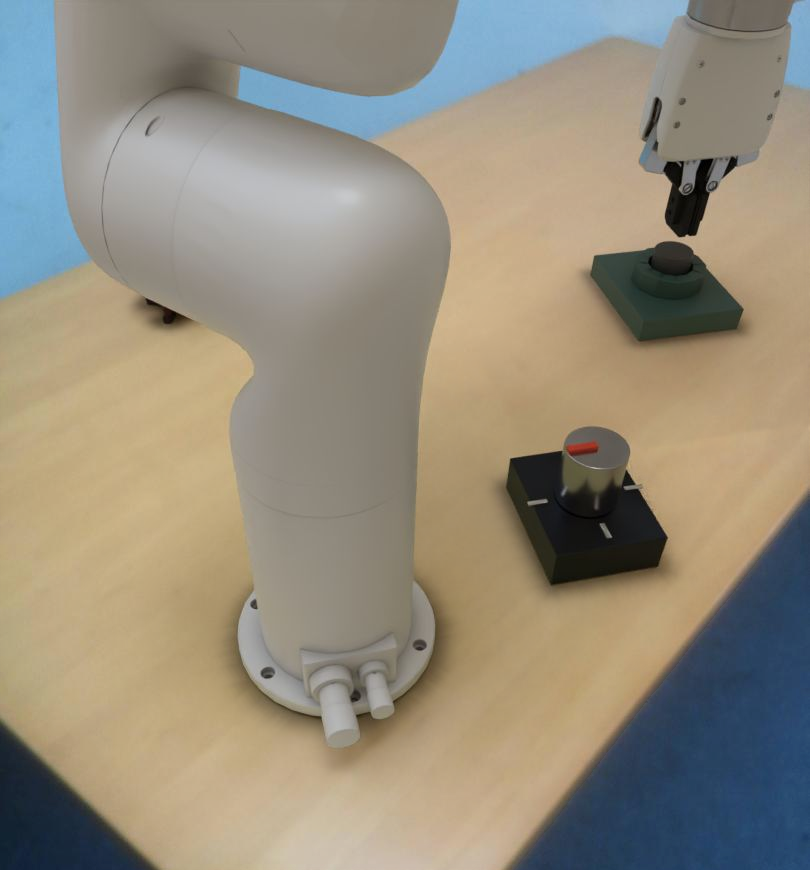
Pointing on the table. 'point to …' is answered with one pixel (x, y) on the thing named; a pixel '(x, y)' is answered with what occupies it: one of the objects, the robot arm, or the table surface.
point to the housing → (664, 296)
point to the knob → (591, 471)
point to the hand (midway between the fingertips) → (680, 229)
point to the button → (672, 258)
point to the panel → (582, 525)
